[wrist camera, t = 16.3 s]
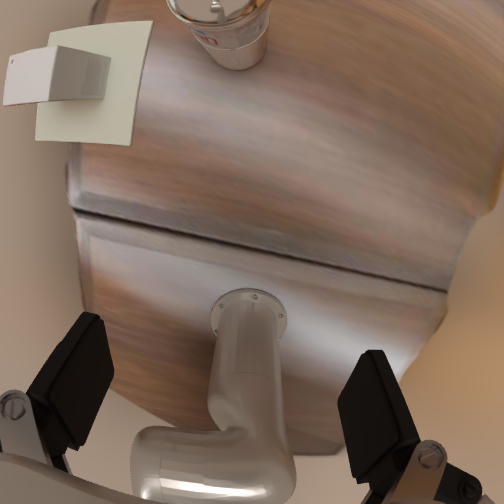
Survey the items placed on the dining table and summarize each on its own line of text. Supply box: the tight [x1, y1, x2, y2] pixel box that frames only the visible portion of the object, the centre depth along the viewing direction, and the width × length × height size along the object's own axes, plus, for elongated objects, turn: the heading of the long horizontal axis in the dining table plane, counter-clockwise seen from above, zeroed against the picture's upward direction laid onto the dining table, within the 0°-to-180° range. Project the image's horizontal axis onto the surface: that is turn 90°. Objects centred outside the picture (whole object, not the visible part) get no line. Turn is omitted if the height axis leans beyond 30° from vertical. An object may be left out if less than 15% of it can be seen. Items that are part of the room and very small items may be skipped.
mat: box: [35, 21, 154, 146], centre depth 31 cm, size 18×18×1 cm
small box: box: [3, 45, 111, 106], centre depth 25 cm, size 8×6×13 cm
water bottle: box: [166, 0, 271, 70], centre depth 19 cm, size 7×7×25 cm
